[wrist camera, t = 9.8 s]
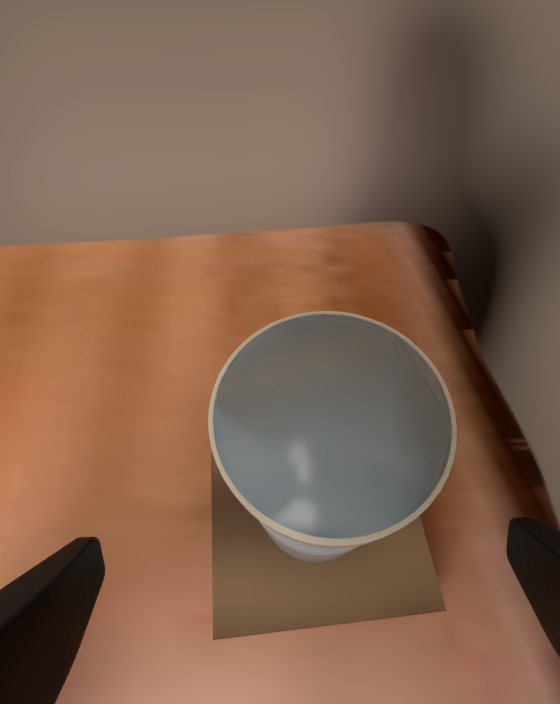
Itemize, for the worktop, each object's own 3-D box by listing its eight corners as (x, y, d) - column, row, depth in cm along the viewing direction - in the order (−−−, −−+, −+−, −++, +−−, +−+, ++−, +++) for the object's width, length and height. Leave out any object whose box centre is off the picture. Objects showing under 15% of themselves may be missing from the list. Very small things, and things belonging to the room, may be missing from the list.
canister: (379, 560, 17) (496, 532, 7) (261, 570, 17) (203, 556, 7) (358, 444, 20) (419, 302, 10) (256, 453, 20) (211, 319, 10)
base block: (426, 606, 19) (446, 610, 16) (225, 631, 19) (213, 639, 16) (378, 417, 24) (387, 397, 21) (220, 435, 24) (210, 418, 21)
